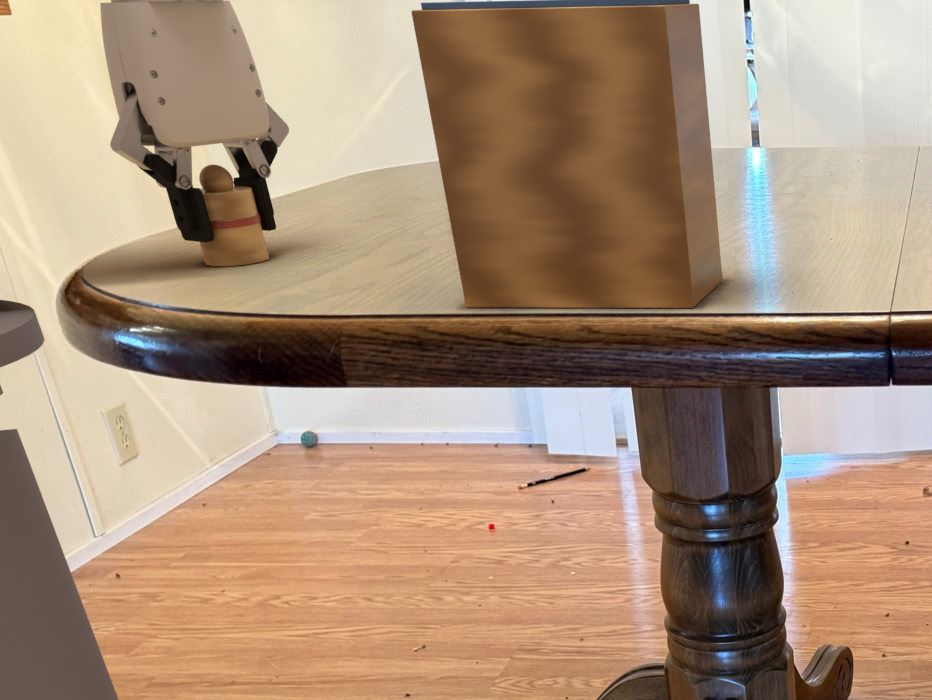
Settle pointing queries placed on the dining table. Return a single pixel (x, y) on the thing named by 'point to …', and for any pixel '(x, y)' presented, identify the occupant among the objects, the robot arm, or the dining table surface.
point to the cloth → (544, 4)
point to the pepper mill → (231, 221)
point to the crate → (574, 154)
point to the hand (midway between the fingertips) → (230, 232)
